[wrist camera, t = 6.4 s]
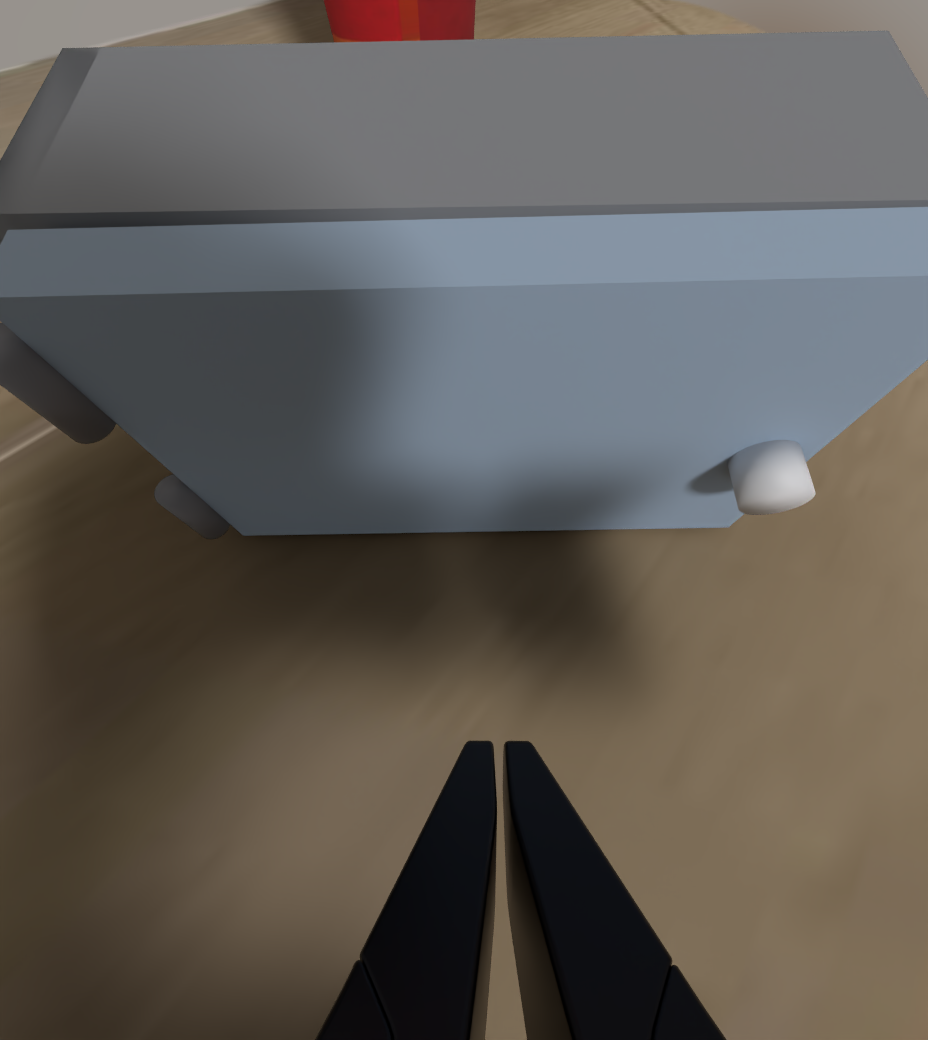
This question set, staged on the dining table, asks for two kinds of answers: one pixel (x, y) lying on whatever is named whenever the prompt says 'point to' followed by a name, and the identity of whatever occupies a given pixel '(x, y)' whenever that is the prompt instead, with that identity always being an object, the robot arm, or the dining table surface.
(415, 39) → the coffee cup
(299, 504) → the door
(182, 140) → the cabinet
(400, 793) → the dining table surface
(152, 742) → the dining table surface
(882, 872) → the dining table surface
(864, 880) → the dining table surface
